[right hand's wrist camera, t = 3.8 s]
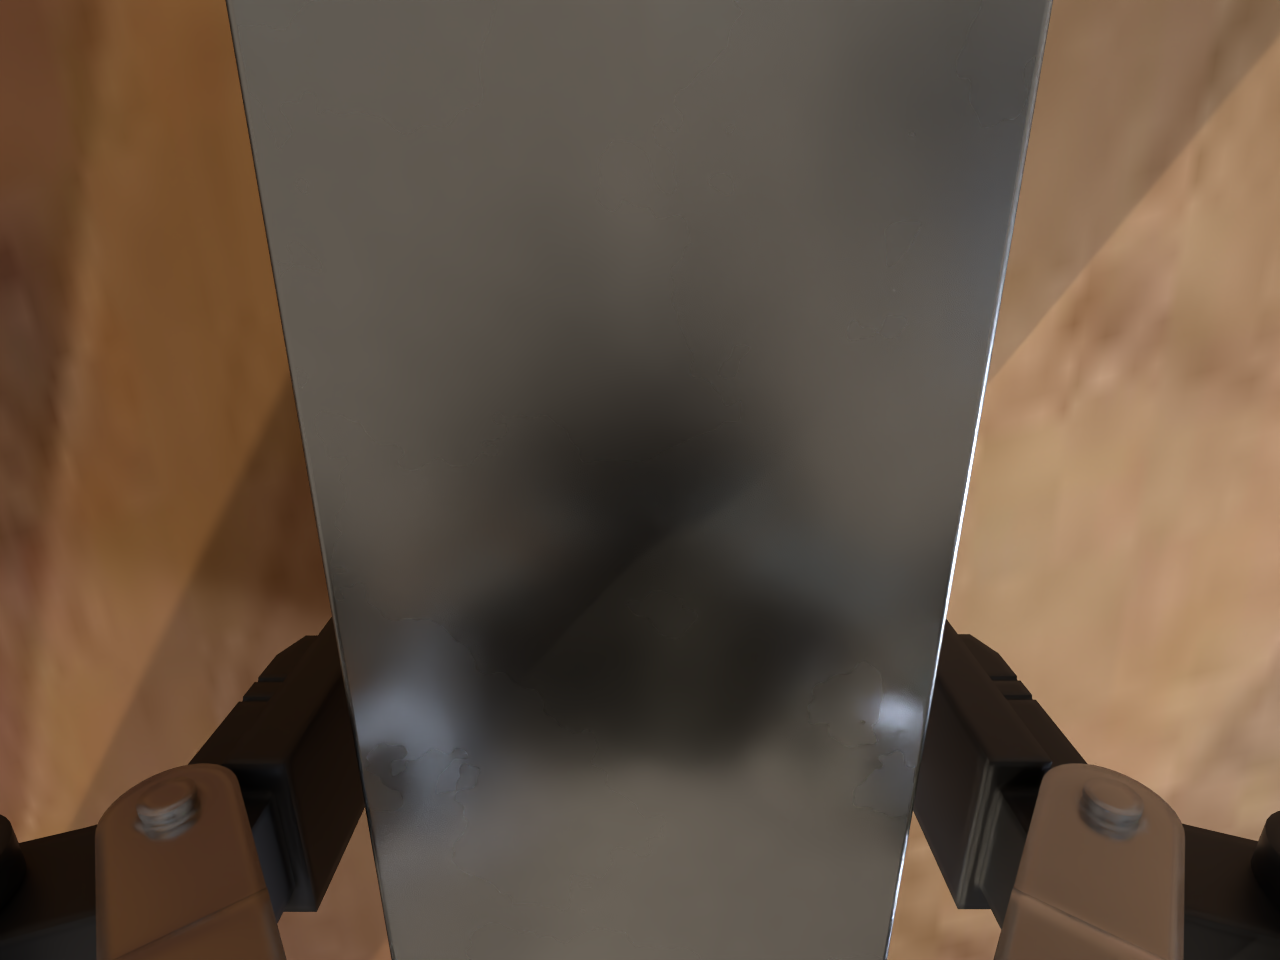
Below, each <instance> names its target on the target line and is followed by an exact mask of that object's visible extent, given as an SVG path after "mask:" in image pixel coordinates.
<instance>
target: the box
mask: <svg viewBox="0 0 1280 960" xmlns="http://www.w3.org/2000/svg"><path fill="white" fill-rule="evenodd" d="M1052 3H1053V0H226V6H227V11H228V17H229V23H230V29H231V35H232V40H233V46H234V52H235V58H236V63H237V69H238V75H239V81H240V86H241V92H242V98H243V104H244V110H245V115H246V121H247V127H248V133H249V138H250V144H251V150H252V156H253V162H254V167H255V173H256V179H257V185H258V190H259V196H260V202H261V208H262V214H263V219H264V225H265V231H266V237H267V242H268V248H269V254H270V260H271V266H272V271H273V277H274V283H275V289H276V294H277V300H278V306H279V312H280V318H281V323H282V329H283V335H284V341H285V346H286V352H287V358H288V364H289V370H290V375H291V381H292V387H293V393H294V398H295V404H296V410H297V416H298V422H299V427H300V433H301V439H302V445H303V450H304V456H305V462H306V468H307V473H308V479H309V485H310V491H311V497H312V502H313V508H314V514H315V520H316V525H317V531H318V537H319V543H320V549H321V554H322V560H323V566H324V572H325V577H326V583H327V589H328V595H329V601H330V606H331V612H332V618H333V624H334V629H335V635H336V641H337V647H338V653H339V658H340V664H341V670H342V676H343V681H344V687H345V693H346V699H347V705H348V710H349V716H350V722H351V728H352V733H353V739H354V745H355V751H356V757H357V762H358V768H359V774H360V780H361V785H362V791H363V797H364V803H365V808H366V814H367V820H368V826H369V832H370V837H371V843H372V849H373V855H374V860H375V866H376V872H377V878H378V884H379V889H380V895H381V901H382V907H383V912H384V918H385V924H386V930H387V936H388V941H389V947H390V953H391V959H392V960H887V956H888V950H889V945H890V939H891V933H892V927H893V922H894V916H895V910H896V904H897V898H898V893H899V887H900V881H901V875H902V870H903V864H904V858H905V852H906V846H907V841H908V835H909V829H910V823H911V818H912V812H913V806H914V800H915V795H916V789H917V783H918V777H919V771H920V766H921V760H922V754H923V748H924V743H925V737H926V731H927V725H928V719H929V714H930V708H931V702H932V696H933V691H934V685H935V679H936V673H937V667H938V662H939V656H940V650H941V644H942V639H943V633H944V627H945V621H946V615H947V610H948V604H949V598H950V592H951V587H952V581H953V575H954V569H955V563H956V558H957V552H958V546H959V540H960V535H961V529H962V523H963V517H964V512H965V506H966V500H967V494H968V488H969V483H970V477H971V471H972V465H973V460H974V454H975V448H976V442H977V436H978V431H979V425H980V419H981V413H982V408H983V402H984V396H985V390H986V384H987V379H988V373H989V367H990V361H991V356H992V350H993V344H994V338H995V332H996V327H997V321H998V315H999V309H1000V304H1001V298H1002V292H1003V286H1004V280H1005V275H1006V269H1007V263H1008V257H1009V252H1010V246H1011V240H1012V234H1013V229H1014V223H1015V217H1016V211H1017V205H1018V200H1019V194H1020V188H1021V182H1022V177H1023V171H1024V165H1025V159H1026V153H1027V148H1028V142H1029V136H1030V130H1031V125H1032V119H1033V113H1034V107H1035V101H1036V96H1037V90H1038V84H1039V78H1040V73H1041V67H1042V61H1043V55H1044V49H1045V44H1046V38H1047V32H1048V26H1049V21H1050V15H1051V9H1052Z"/></svg>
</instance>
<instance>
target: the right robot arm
mask: <svg viewBox="0 0 1280 960" xmlns="http://www.w3.org/2000/svg"><path fill="white" fill-rule="evenodd" d="M364 808H365V803H364V797H363V791H362V785H361V780H360V774H359V768H358V762H357V757H356V751H355V745H354V739H353V733H352V728H351V722H350V716H349V710H348V705H347V699H346V693H345V687H344V681H343V676H342V670H341V664H340V658H339V653H338V647H337V641H336V635H335V629H334V624H333V618H332V617H331V619H330V620H329V621H328V623H327V624H326V625H325V627H324V628H323V629H322V631H321V632H320V633H319V635H318V636H305V637H303V638H302V639H300V640H299V641H297V642H296V643H294V644H293V645H291V646H290V647H288V648H287V649H285V650H284V651H282V652H281V653H279V654H278V655H276V657H275V658H274V659H273V660H272V662H271V663H270V664H269V665H268V666H267V668H266V669H265V670H264V671H263V673H262V674H261V675H260V676H259V678H258V682H255V683H254V684H253V685H252V686H251V687H250V689H249V690H248V691H247V692H246V694H245V695H244V696H243V701H242V702H238V703H237V705H236V706H235V707H234V708H233V710H232V711H231V712H230V713H229V715H228V716H227V717H226V718H225V719H224V721H223V722H222V723H221V724H220V726H219V727H218V728H217V729H216V731H215V732H214V733H213V734H212V735H211V737H210V738H209V739H208V740H207V742H206V743H205V744H204V745H203V747H202V748H201V749H200V750H199V751H198V753H197V754H196V755H195V756H194V758H193V759H192V760H191V761H190V763H189V764H188V765H185V766H181V767H176V768H173V769H170V770H167V771H164V772H162V773H159V774H157V775H154V776H152V777H150V778H148V779H146V780H144V781H142V782H141V783H139V784H137V785H136V786H134V787H132V788H131V789H129V790H128V791H127V792H125V793H124V794H123V795H121V796H120V797H119V798H118V799H117V800H116V801H115V802H114V803H113V804H112V805H111V806H110V807H109V808H108V809H107V810H106V811H105V813H104V814H103V816H102V817H101V819H100V820H99V823H98V824H97V825H94V826H90V827H86V828H82V829H78V830H74V831H69V832H65V833H61V834H56V835H52V836H48V837H44V838H39V839H35V840H31V841H26V842H22V843H18V840H17V838H16V835H15V833H14V830H13V828H12V826H11V823H10V821H9V820H8V819H7V818H6V817H4V816H2V815H0V960H286V956H285V952H284V949H283V945H282V941H281V937H280V934H279V930H278V926H277V923H278V921H279V919H280V917H281V915H282V913H283V912H317V910H318V908H319V906H320V904H321V901H322V899H323V897H324V895H325V893H326V891H327V888H328V886H329V884H330V882H331V880H332V877H333V875H334V873H335V871H336V869H337V867H338V864H339V862H340V860H341V858H342V856H343V853H344V851H345V849H346V847H347V845H348V843H349V840H350V838H351V836H352V834H353V832H354V830H355V827H356V825H357V823H358V821H359V819H360V816H361V814H362V812H363V810H364ZM913 811H914V813H915V816H916V818H917V820H918V822H919V824H920V827H921V829H922V831H923V833H924V835H925V838H926V840H927V842H928V844H929V846H930V849H931V851H932V853H933V855H934V857H935V860H936V862H937V864H938V866H939V868H940V871H941V873H942V875H943V877H944V879H945V882H946V884H947V886H948V888H949V891H950V893H951V895H952V897H953V899H954V902H955V904H956V906H957V908H958V909H991V910H992V912H993V914H994V916H995V918H996V920H997V922H998V924H999V926H1000V928H1001V934H1000V937H999V941H998V945H997V949H996V952H995V956H994V960H1280V811H1278V812H1276V813H1274V814H1272V815H1271V816H1270V817H1269V818H1268V819H1267V821H1266V824H1265V826H1264V828H1263V831H1262V833H1261V836H1260V838H1259V841H1254V840H1250V839H1245V838H1241V837H1237V836H1232V835H1228V834H1224V833H1220V832H1215V831H1211V830H1207V829H1202V828H1198V827H1194V826H1189V825H1185V824H1182V823H1181V820H1180V819H1179V817H1178V816H1177V814H1176V813H1175V811H1174V810H1173V809H1172V808H1171V807H1170V806H1169V805H1168V804H1167V803H1166V802H1165V801H1164V800H1163V799H1162V798H1161V797H1160V796H1159V795H1157V794H1156V793H1155V792H1153V791H1152V790H1151V789H1149V788H1148V787H1146V786H1144V785H1143V784H1141V783H1139V782H1138V781H1136V780H1134V779H1132V778H1130V777H1128V776H1126V775H1123V774H1121V773H1118V772H1116V771H1113V770H1110V769H1107V768H1104V767H1099V766H1095V765H1089V764H1087V763H1086V762H1085V760H1084V759H1083V758H1082V757H1081V755H1080V754H1079V753H1078V752H1077V750H1076V749H1075V748H1074V747H1073V745H1072V744H1071V743H1070V742H1069V740H1068V739H1067V738H1066V737H1065V735H1064V734H1063V733H1062V732H1061V731H1060V729H1059V728H1058V727H1057V726H1056V724H1055V723H1054V722H1053V721H1052V719H1051V718H1050V717H1049V716H1048V714H1047V713H1046V712H1045V711H1044V709H1043V708H1042V707H1041V706H1040V704H1039V703H1038V702H1037V701H1036V700H1032V694H1031V693H1030V692H1029V691H1028V689H1027V688H1026V687H1025V686H1024V685H1023V683H1022V682H1021V681H1017V676H1016V675H1015V673H1014V672H1013V671H1012V670H1011V668H1010V667H1009V666H1008V665H1007V663H1006V662H1005V661H1004V660H1003V658H1002V657H1001V656H1000V655H999V654H998V653H997V652H995V651H994V650H992V649H991V648H989V647H988V646H986V645H985V644H984V643H982V642H981V641H979V640H978V639H976V638H975V637H973V636H972V635H970V634H957V633H956V631H955V630H954V629H953V627H952V626H951V625H950V623H949V622H948V621H947V619H946V621H945V627H944V633H943V639H942V644H941V650H940V656H939V662H938V667H937V673H936V679H935V685H934V691H933V696H932V702H931V708H930V714H929V719H928V725H927V731H926V737H925V743H924V748H923V754H922V760H921V766H920V771H919V777H918V783H917V789H916V795H915V800H914V806H913Z"/></svg>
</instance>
